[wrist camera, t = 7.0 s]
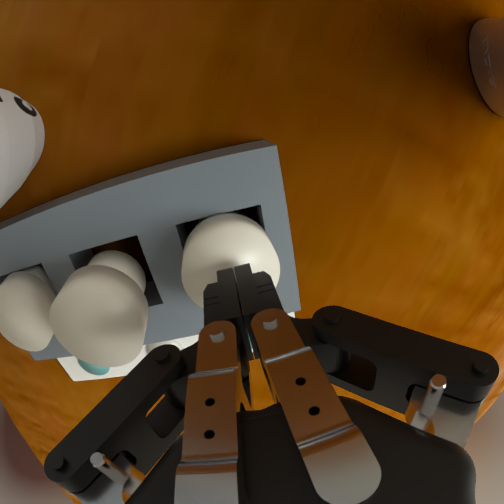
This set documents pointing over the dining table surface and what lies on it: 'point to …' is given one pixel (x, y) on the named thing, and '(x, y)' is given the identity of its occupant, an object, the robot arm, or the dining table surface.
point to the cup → (18, 142)
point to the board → (155, 229)
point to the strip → (89, 372)
